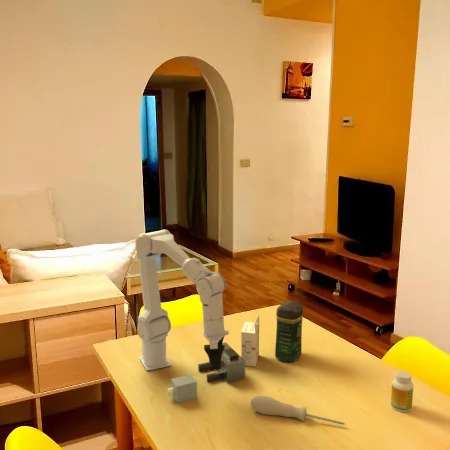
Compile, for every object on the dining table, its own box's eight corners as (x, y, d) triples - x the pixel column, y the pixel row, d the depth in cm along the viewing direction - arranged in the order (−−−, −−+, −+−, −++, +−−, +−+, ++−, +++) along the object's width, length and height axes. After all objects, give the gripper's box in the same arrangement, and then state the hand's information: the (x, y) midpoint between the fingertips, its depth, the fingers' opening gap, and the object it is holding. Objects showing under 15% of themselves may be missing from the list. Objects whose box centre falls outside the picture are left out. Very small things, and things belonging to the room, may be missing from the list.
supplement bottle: (409, 415, 123) (412, 381, 121) (388, 408, 126) (390, 375, 124) (413, 405, 127) (416, 372, 126) (393, 399, 130) (395, 367, 128)
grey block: (166, 396, 132) (166, 379, 131) (191, 390, 135) (191, 374, 134) (171, 404, 128) (171, 387, 127) (196, 397, 131) (196, 381, 130)
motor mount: (192, 363, 151) (192, 343, 150) (223, 356, 155) (223, 337, 154) (211, 387, 137) (211, 365, 135) (245, 379, 141) (245, 357, 140)
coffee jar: (294, 365, 150) (296, 310, 146) (271, 359, 153) (273, 306, 150) (304, 353, 158) (306, 301, 154) (282, 348, 162) (284, 297, 158)
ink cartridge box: (244, 353, 158) (245, 312, 155) (259, 355, 157) (259, 313, 154) (240, 365, 149) (240, 322, 146) (255, 367, 148) (256, 324, 146)
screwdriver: (344, 437, 117) (345, 425, 115) (248, 414, 124) (248, 402, 123) (345, 423, 121) (347, 410, 119) (253, 401, 128) (253, 389, 127)
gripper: (227, 325, 122) (230, 373, 124) (227, 308, 137) (230, 351, 138) (200, 326, 122) (204, 375, 124) (204, 309, 137) (207, 353, 139)
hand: (216, 363), depth 131 cm, fingers open, 7 cm apart
